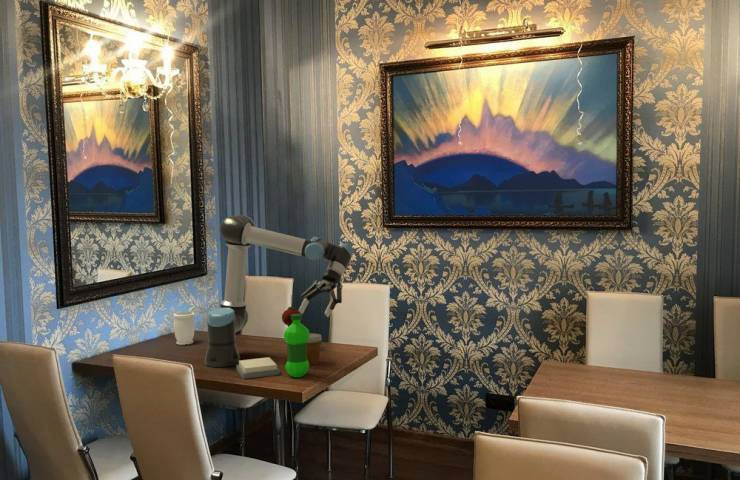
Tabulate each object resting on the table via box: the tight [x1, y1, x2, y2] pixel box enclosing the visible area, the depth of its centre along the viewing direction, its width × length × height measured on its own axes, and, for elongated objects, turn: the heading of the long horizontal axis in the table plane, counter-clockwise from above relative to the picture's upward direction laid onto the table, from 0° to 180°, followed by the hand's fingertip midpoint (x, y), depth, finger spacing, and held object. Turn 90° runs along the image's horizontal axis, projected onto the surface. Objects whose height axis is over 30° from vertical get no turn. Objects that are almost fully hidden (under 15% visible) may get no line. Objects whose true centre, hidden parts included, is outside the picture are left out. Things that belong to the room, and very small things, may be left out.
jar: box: [172, 311, 196, 346], centre depth 314 cm, size 11×10×15 cm
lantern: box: [281, 296, 302, 328], centre depth 300 cm, size 10×10×30 cm
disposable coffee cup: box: [306, 332, 323, 365], centre depth 275 cm, size 10×10×12 cm
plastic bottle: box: [283, 314, 310, 378], centre depth 255 cm, size 10×10×25 cm
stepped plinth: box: [235, 356, 281, 380], centre depth 262 cm, size 15×15×4 cm
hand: (313, 313), depth 263 cm, fingers open, 13 cm apart
